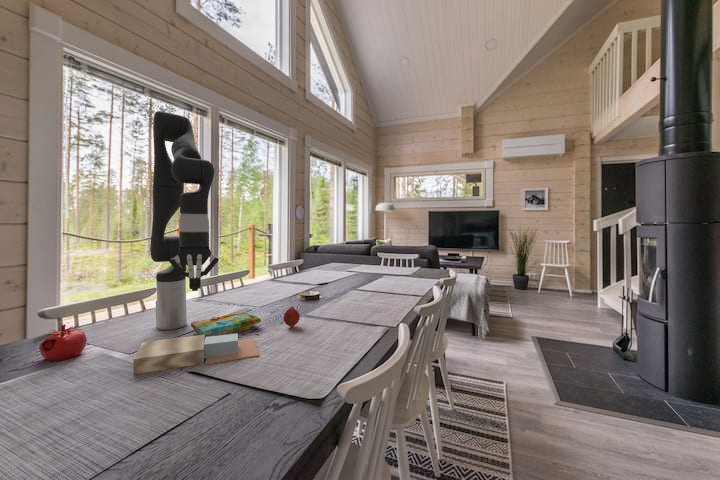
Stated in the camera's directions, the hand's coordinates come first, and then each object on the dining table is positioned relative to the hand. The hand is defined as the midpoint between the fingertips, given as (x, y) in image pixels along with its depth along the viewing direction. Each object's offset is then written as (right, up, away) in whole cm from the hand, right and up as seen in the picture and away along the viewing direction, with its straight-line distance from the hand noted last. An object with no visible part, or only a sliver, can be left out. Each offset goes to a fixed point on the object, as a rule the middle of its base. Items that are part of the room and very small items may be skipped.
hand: (195, 290), depth 90 cm
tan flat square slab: (+8, -19, +5) cm, 22 cm away
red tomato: (-38, -19, 0) cm, 42 cm away
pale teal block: (+6, -17, +3) cm, 18 cm away
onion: (+22, -18, +27) cm, 39 cm away
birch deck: (-6, -19, -1) cm, 20 cm away
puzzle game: (0, -18, +22) cm, 29 cm away
